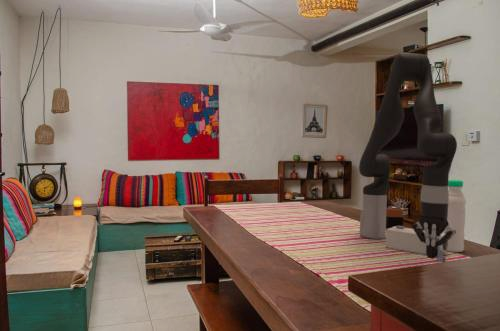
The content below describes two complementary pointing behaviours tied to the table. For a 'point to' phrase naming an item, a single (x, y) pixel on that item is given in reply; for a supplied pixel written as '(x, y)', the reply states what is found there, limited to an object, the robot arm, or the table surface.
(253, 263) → the table surface
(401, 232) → the housing
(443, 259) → the side door
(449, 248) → the water bottle
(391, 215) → the battery
